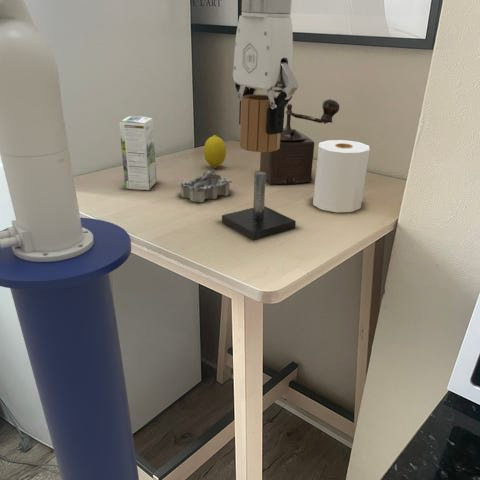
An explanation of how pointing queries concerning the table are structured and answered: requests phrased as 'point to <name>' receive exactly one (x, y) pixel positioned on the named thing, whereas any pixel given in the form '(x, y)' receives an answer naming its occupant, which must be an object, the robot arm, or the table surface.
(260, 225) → the stand
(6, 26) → the robot arm
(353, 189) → the toilet paper
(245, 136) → the wooden bucket
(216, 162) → the lemon
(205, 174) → the metal cookie cutter
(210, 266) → the table surface
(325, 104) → the manual coffee grinder
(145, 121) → the syrup box
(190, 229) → the table surface
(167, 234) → the table surface
